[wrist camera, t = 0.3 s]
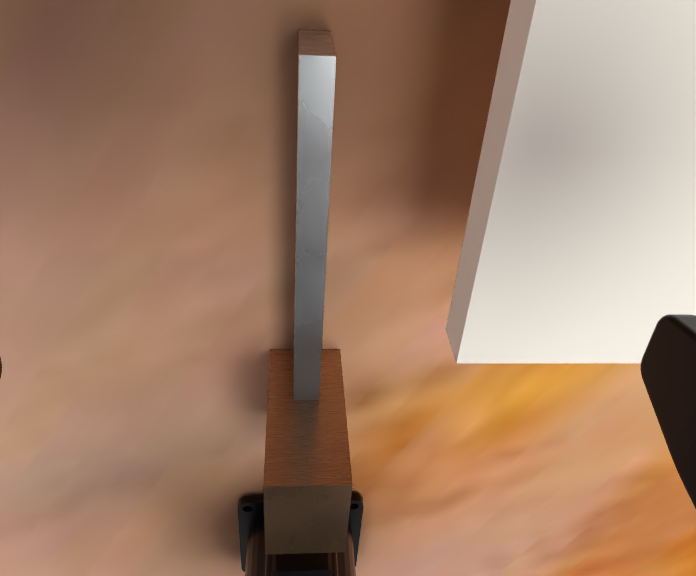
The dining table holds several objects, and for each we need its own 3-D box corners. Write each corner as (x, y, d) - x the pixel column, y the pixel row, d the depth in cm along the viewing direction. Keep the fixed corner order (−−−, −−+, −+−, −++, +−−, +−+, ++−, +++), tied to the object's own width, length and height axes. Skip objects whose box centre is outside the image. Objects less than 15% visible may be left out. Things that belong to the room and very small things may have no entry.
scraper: (335, 414, 29) (345, 552, 23) (271, 414, 28) (265, 554, 23) (362, 32, 19) (392, 107, 13) (265, 27, 19) (252, 101, 13)
